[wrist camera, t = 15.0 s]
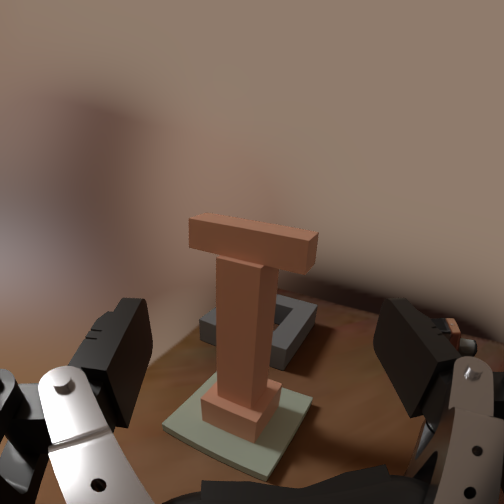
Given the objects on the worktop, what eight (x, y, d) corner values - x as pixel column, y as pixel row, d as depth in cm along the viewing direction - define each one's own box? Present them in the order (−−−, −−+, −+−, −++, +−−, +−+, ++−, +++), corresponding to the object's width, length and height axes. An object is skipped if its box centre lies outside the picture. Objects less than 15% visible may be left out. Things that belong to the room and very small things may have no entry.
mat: (311, 404, 27) (312, 397, 27) (266, 481, 19) (267, 476, 19) (222, 371, 32) (222, 365, 31) (163, 430, 23) (161, 423, 23)
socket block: (314, 324, 41) (317, 305, 40) (283, 370, 32) (286, 349, 31) (243, 303, 46) (244, 285, 45) (200, 339, 37) (199, 319, 36)
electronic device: (465, 390, 27) (490, 337, 24) (393, 386, 29) (413, 330, 27) (457, 368, 31) (478, 317, 28) (390, 362, 33) (407, 309, 31)
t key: (293, 411, 25) (324, 226, 20) (271, 450, 21) (300, 248, 15) (217, 382, 29) (218, 208, 23) (188, 413, 24) (173, 223, 19)
